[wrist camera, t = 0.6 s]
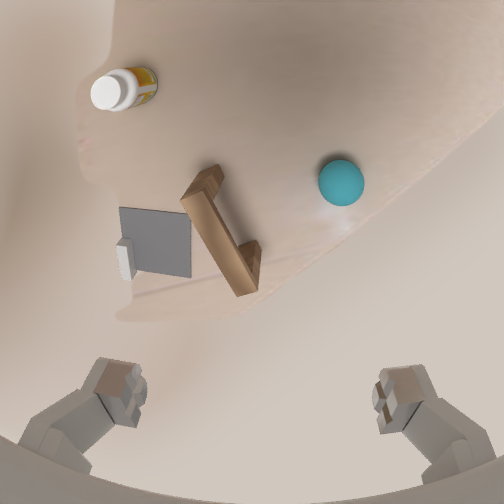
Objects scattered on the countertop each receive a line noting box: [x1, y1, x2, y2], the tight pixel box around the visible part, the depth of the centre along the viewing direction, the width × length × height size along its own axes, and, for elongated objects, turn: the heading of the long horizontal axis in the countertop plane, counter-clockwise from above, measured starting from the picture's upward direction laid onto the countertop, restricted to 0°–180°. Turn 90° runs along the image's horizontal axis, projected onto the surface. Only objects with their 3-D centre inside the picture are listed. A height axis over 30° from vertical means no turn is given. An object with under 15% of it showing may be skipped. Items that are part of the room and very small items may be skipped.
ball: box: [318, 160, 364, 206], centre depth 38 cm, size 6×6×6 cm
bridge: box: [180, 164, 262, 297], centre depth 41 cm, size 3×15×10 cm, turn 24°
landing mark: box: [119, 207, 191, 278], centre depth 49 cm, size 12×12×1 cm
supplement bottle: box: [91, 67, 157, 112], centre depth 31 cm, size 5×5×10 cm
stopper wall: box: [116, 238, 137, 281], centre depth 50 cm, size 7×2×2 cm, turn 174°
